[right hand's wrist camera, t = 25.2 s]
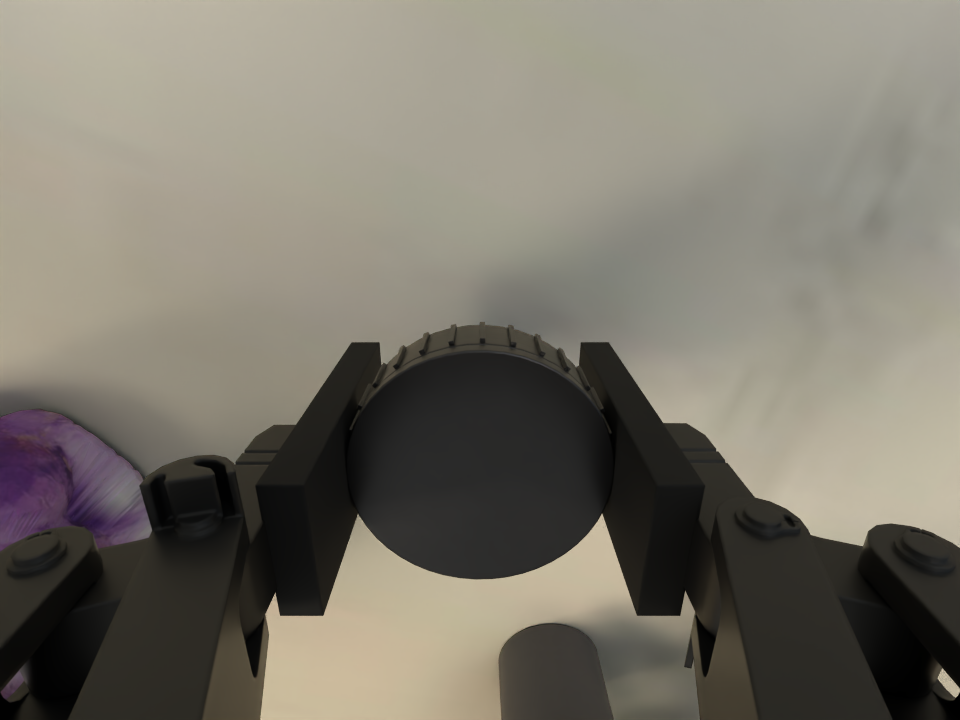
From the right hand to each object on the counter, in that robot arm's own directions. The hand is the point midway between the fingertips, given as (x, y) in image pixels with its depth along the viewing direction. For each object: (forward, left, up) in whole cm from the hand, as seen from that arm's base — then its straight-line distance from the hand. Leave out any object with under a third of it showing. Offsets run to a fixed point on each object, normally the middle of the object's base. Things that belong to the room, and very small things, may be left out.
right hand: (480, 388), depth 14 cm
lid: (0, 0, +4) cm, 4 cm away
